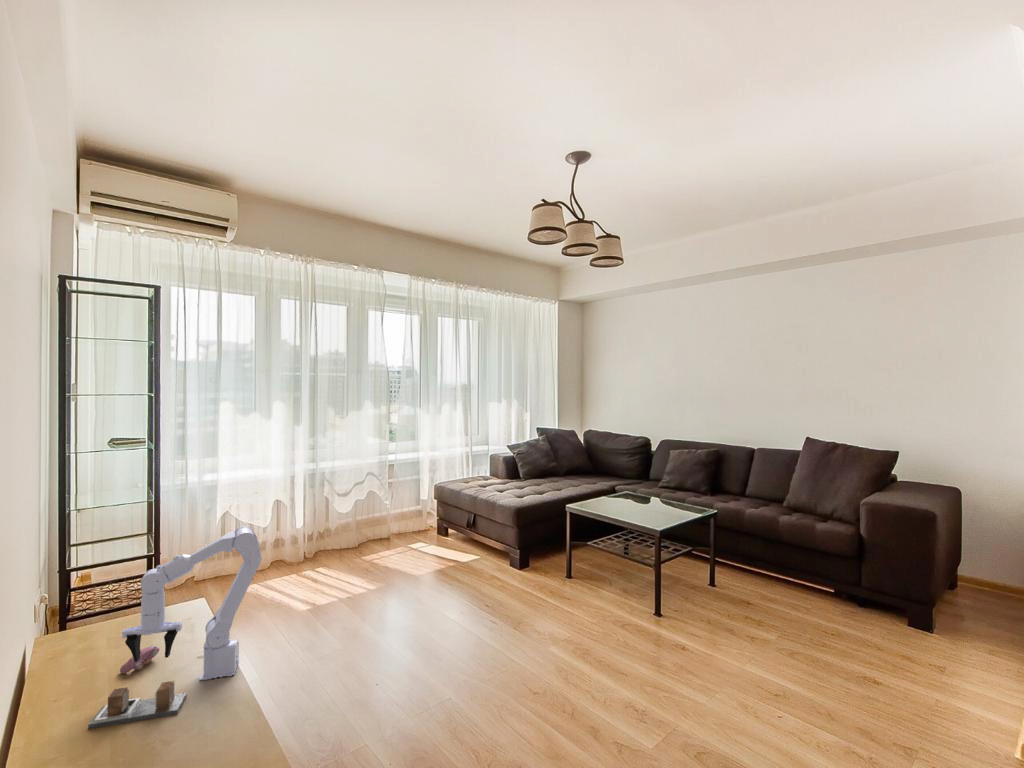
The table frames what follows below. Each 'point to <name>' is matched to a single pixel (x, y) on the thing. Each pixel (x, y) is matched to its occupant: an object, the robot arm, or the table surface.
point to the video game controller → (145, 655)
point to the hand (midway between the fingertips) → (152, 658)
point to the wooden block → (118, 701)
